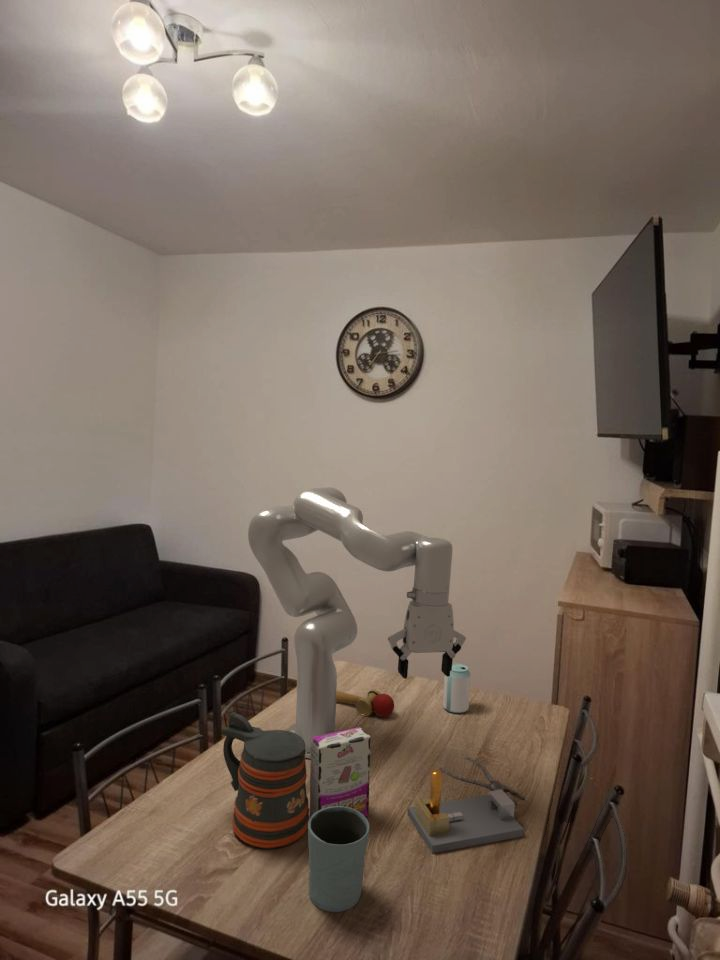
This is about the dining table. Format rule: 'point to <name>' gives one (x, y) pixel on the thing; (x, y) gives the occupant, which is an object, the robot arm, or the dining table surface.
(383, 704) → the kendama
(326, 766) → the candy bar box
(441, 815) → the bracket
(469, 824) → the tie down board
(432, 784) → the amber lever
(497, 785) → the pliers
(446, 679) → the can
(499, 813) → the block
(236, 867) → the dining table surface
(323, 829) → the grey green cup
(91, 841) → the dining table surface
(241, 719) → the beer stein
